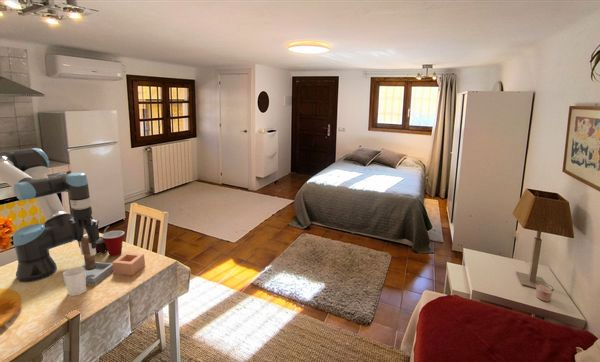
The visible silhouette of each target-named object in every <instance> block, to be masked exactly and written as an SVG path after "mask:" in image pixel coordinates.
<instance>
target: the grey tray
mask: <svg viewBox="0 0 600 362" xmlns="http://www.w3.org/2000/svg"><path fill="white" fill-rule="evenodd" d="M95 264H96V268H95V269H93V270H89V271H88V270H86V266H85V263H83V264H82V265H80V266H79V267H84V268H85V275H86V285H96V284H97V283H99V282H101V280H103V279H104V278H106V277H107V276H109V274H111V273H113V272H114V271H113V264H112V262H104V261H103V262H102V261H95Z"/></svg>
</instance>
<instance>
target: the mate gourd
mask: <svg viewBox="0 0 600 362" xmlns="http://www.w3.org/2000/svg"><path fill="white" fill-rule="evenodd" d="M109 228H110V225H108V226H106V227H105V229H104V230H103V234H104V233H107V230H108V229H109ZM99 238H100V239H99V240H97V241H96V253H95V255H98V254H100V253H103V254H106V251H107V252H108V250H107V248H106V245H105V242H104V240H103V238H102V237H101V236H99Z"/></svg>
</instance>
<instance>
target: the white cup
mask: <svg viewBox="0 0 600 362" xmlns="http://www.w3.org/2000/svg"><path fill="white" fill-rule="evenodd" d="M62 277H63V281H64V285H65V289H66V290H67V295H68V296H70V297H75V296H80V295H82V294H83V293H85V292H86V291H87V284H86V275H85V268H84V267H80V266H74V267H71V268H67V269H66V270H65V271H63V273H62Z"/></svg>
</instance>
